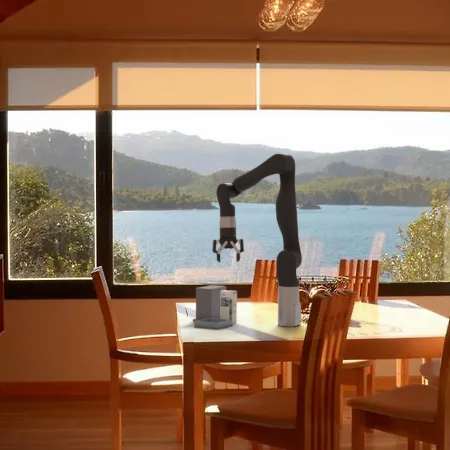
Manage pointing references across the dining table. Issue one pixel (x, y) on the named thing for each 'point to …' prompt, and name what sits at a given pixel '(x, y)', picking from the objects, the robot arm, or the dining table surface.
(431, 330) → the dining table surface
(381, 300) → the dining table surface
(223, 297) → the syrup box
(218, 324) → the tray
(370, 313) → the dining table surface
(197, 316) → the mounted unit
